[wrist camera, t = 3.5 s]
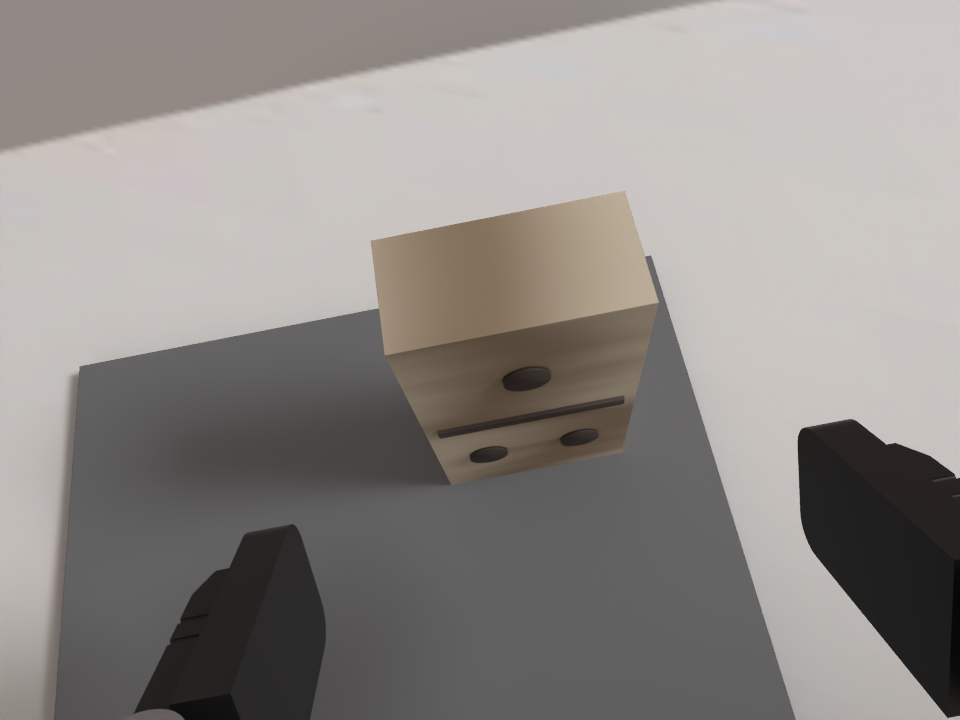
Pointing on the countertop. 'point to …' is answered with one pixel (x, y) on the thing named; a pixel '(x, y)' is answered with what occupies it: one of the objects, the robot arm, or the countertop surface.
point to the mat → (409, 541)
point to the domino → (519, 333)
